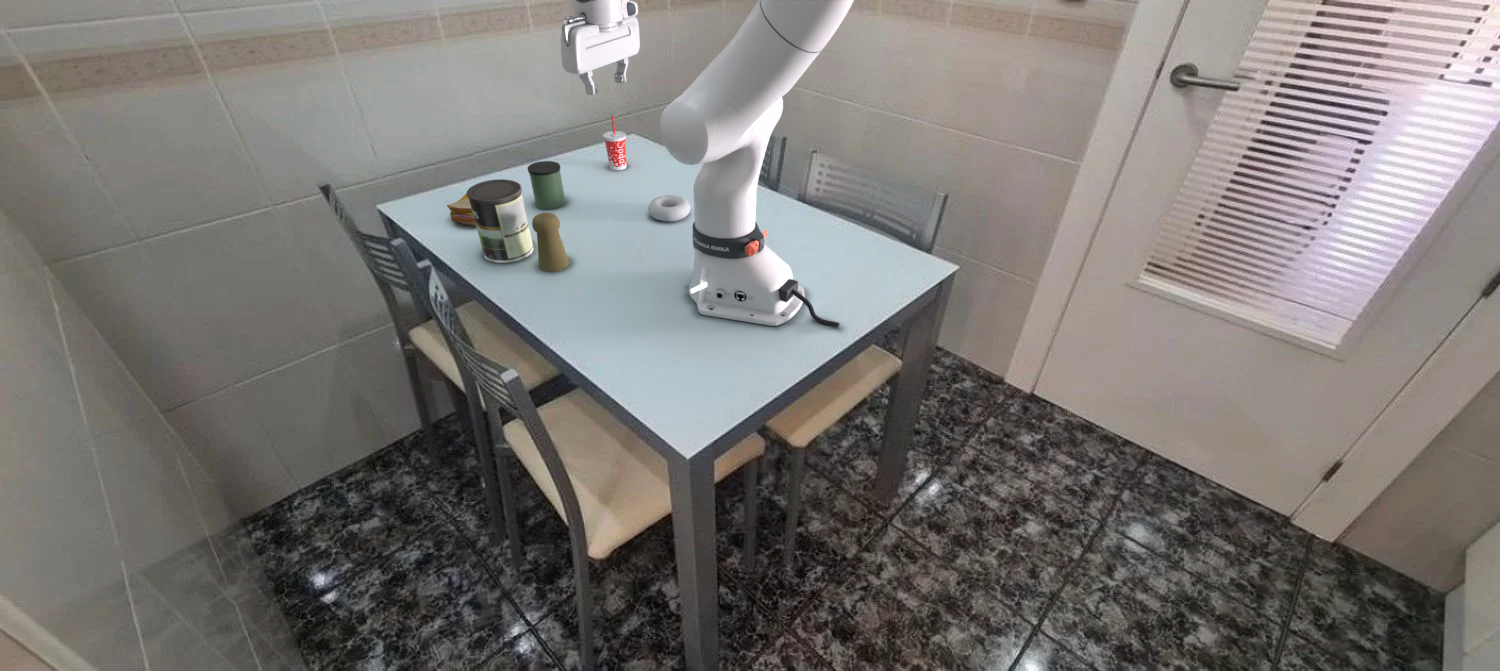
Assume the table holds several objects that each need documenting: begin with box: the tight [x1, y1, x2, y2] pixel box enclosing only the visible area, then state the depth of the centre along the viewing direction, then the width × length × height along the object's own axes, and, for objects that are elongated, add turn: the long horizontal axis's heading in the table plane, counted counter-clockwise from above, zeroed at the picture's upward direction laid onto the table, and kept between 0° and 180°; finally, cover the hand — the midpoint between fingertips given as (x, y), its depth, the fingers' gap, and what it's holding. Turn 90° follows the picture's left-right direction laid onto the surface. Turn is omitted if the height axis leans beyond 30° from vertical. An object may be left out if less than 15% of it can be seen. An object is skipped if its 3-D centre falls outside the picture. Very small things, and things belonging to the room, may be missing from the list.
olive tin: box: [527, 160, 566, 210], centre depth 147 cm, size 7×7×9 cm
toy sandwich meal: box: [446, 192, 476, 226], centre depth 142 cm, size 12×14×5 cm
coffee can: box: [466, 178, 535, 264], centre depth 126 cm, size 10×10×14 cm
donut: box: [648, 194, 692, 222], centre depth 145 cm, size 10×4×10 cm
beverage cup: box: [602, 115, 627, 171], centre depth 165 cm, size 6×6×14 cm
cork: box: [531, 212, 570, 273], centre depth 123 cm, size 6×6×11 cm
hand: (606, 88), depth 120 cm, fingers open, 8 cm apart
